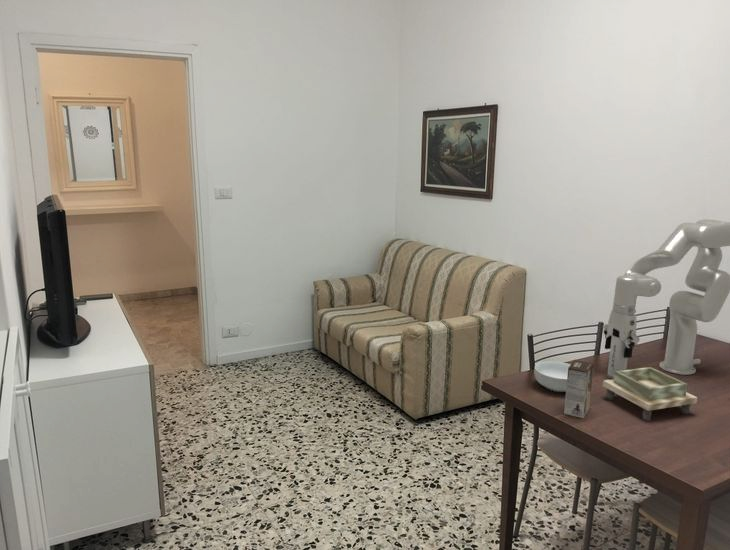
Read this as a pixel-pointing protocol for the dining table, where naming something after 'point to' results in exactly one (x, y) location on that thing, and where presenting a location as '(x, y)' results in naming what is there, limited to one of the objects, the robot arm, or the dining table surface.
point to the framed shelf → (650, 390)
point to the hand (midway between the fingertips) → (617, 352)
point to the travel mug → (616, 355)
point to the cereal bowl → (552, 375)
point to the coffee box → (578, 388)
